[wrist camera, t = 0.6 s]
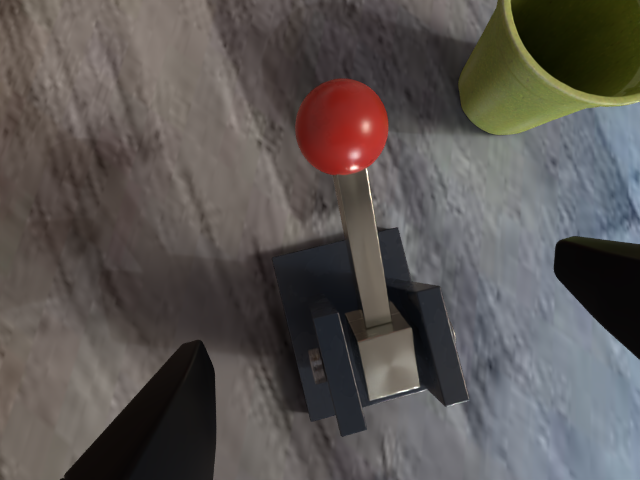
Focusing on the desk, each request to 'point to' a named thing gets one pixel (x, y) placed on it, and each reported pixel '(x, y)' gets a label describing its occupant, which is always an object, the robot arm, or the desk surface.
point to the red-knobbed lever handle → (360, 226)
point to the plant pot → (551, 62)
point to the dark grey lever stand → (333, 339)
